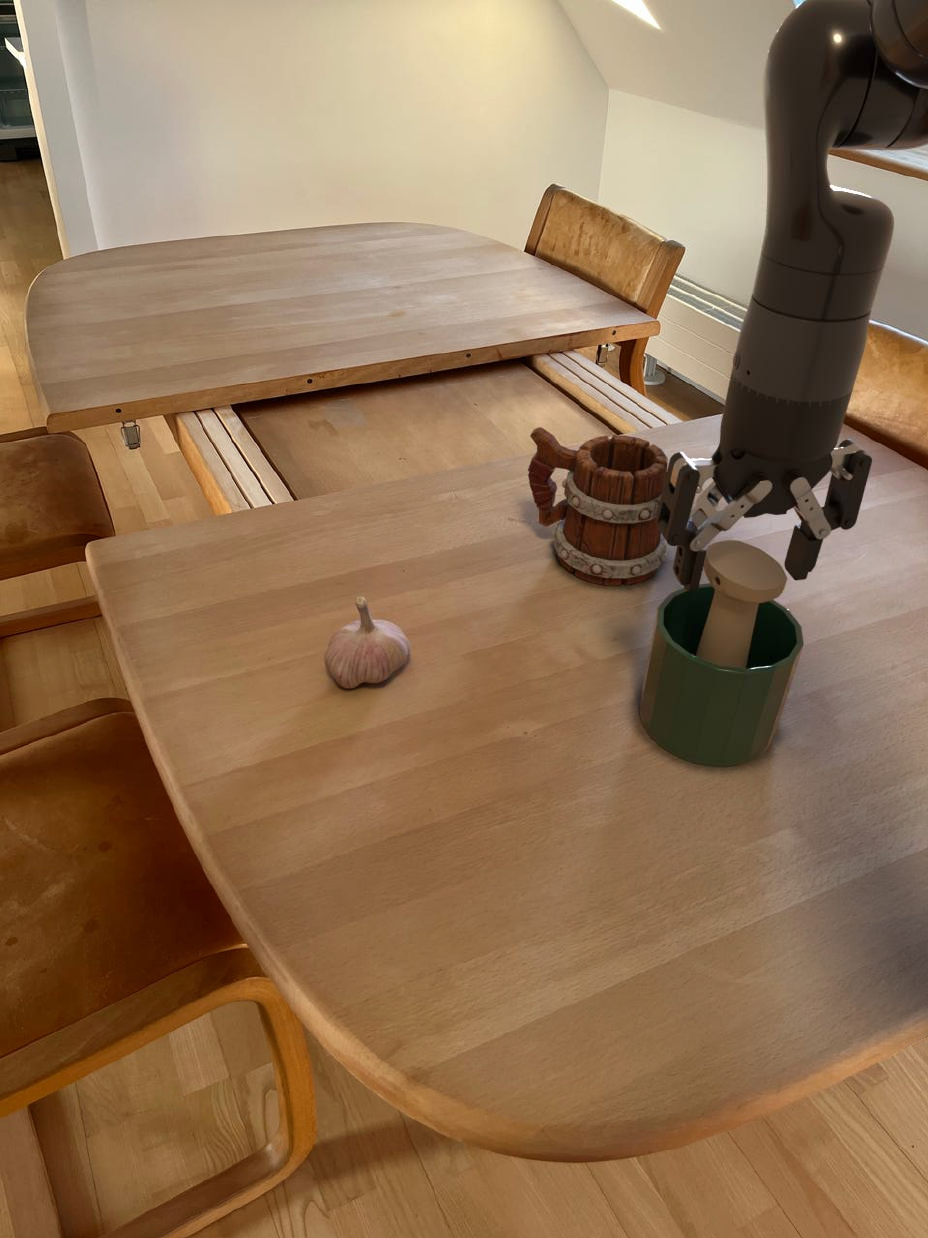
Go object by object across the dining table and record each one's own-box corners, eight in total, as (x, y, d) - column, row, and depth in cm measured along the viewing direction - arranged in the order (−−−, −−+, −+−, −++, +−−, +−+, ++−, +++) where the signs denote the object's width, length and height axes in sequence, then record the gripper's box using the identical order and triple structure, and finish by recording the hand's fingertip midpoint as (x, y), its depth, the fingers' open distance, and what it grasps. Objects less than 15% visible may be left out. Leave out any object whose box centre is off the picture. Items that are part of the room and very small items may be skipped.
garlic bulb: (330, 703, 79) (323, 629, 74) (321, 648, 84) (314, 576, 79) (418, 691, 80) (418, 618, 75) (403, 638, 86) (402, 566, 81)
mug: (663, 601, 90) (659, 460, 82) (522, 590, 96) (505, 456, 87) (683, 539, 99) (682, 406, 91) (554, 532, 104) (541, 405, 96)
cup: (797, 757, 75) (829, 663, 69) (667, 775, 73) (689, 680, 67) (739, 668, 83) (763, 577, 77) (621, 682, 82) (637, 590, 75)
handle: (706, 680, 81) (742, 534, 72) (756, 728, 76) (801, 579, 67) (660, 697, 79) (691, 549, 70) (708, 746, 75) (748, 596, 65)
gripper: (712, 404, 55) (669, 620, 65) (928, 389, 58) (855, 599, 68) (666, 355, 61) (633, 560, 71) (864, 343, 64) (805, 543, 73)
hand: (741, 579), depth 69 cm, fingers open, 8 cm apart
